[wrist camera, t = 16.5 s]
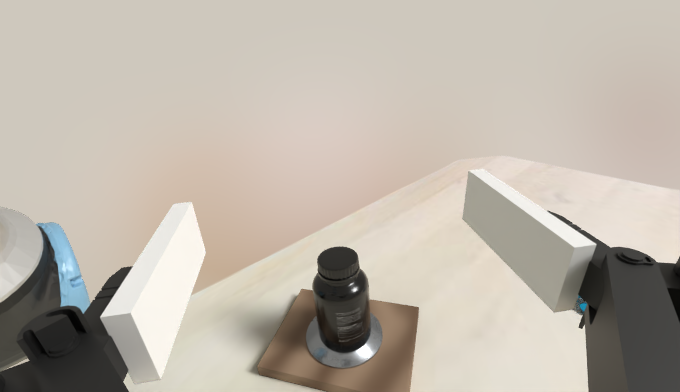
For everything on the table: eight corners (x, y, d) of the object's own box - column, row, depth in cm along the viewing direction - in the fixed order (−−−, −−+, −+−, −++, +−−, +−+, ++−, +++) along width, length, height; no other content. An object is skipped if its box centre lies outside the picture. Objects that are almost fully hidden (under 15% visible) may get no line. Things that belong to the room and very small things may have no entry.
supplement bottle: (376, 318, 45) (373, 244, 40) (364, 360, 39) (359, 281, 34) (328, 309, 47) (320, 238, 42) (310, 348, 41) (299, 272, 36)
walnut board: (259, 374, 41) (256, 364, 40) (302, 296, 53) (301, 287, 52) (407, 411, 35) (407, 400, 35) (418, 315, 47) (418, 305, 47)
